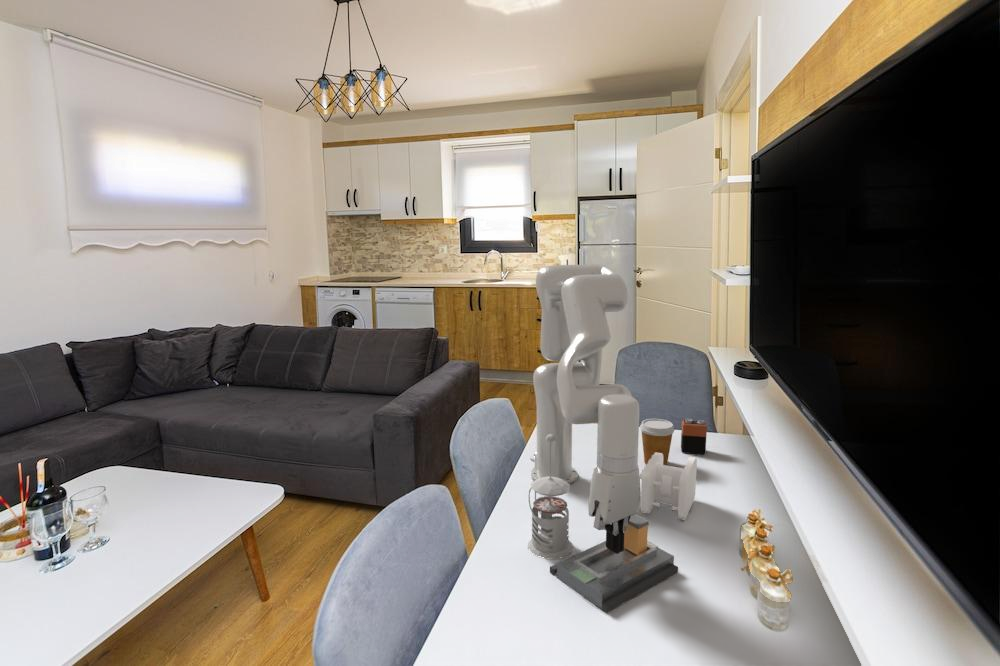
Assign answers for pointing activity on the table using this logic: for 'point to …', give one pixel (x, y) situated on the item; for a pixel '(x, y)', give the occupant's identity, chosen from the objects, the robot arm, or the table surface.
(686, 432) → the battery
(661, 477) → the cable organizer
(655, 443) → the disposable coffee cup
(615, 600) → the dark grey thin bar
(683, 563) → the table surface
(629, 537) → the lever
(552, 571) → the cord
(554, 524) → the french press
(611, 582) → the panel
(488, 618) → the table surface
